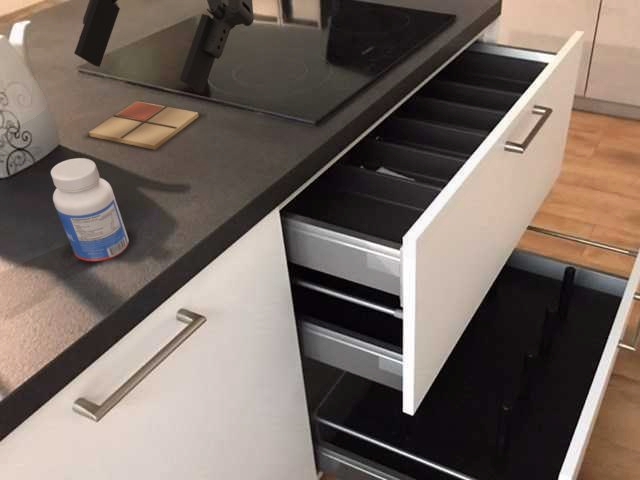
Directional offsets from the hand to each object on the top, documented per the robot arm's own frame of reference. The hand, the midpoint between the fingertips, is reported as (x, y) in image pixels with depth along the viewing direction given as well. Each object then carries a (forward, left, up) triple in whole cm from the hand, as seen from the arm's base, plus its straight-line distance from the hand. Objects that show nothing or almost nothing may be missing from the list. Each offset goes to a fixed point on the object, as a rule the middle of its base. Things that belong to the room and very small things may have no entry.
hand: (137, 73), depth 65 cm
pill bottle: (-1, -10, -15) cm, 18 cm away
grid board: (-13, +14, -15) cm, 25 cm away
